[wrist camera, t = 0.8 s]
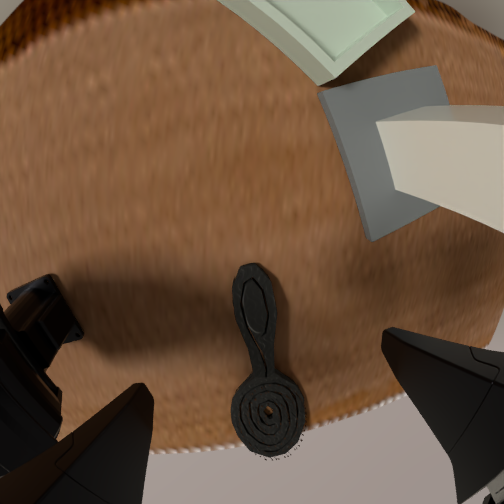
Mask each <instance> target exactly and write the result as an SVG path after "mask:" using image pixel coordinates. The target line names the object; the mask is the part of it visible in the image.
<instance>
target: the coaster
mask: <svg viewBox="0 0 504 504" xmlns="http://www.w3.org/2000/svg"><path fill="white" fill-rule="evenodd" d="M317 95H318V97H319V99H320V102H321V104H322V107H323V109H324V112H325V114H326V116H327V119H328V122H329V124H330V127H331V129H332V132H333V135H334V137H335V140H336V143H337V145H338V148H339V151H340V154H341V157H342V159H343V162H344V165H345V168H346V171H347V174H348V177H349V180H350V184H351V187H352V190H353V193H354V196H355V200H356V203H357V207H358V210H359V213H360V217H361V221H362V224H363V228H364V232H365V235H366V238H367V239H368V240H370V241H371V242H374V241H376V240H378V239H380V238H381V237H383V236H385V235H387V234H389V233H391V232H393V231H395V230H397V229H399V228H401V227H403V226H404V225H406V224H408V223H410V222H412V221H414V220H416V219H418V218H419V217H421V216H423V215H425V214H427V213H429V212H430V211H432V210H434V209H436V208H438V207H440V205H437V204H434V203H432V202H429V201H426V200H424V199H421V198H418V197H415V196H413V195H410V194H407V193H404V192H401V191H398V190H395V186H394V182H393V178H392V174H391V171H390V167H389V163H388V160H387V156H386V153H385V150H384V146H383V143H382V140H381V137H380V134H379V131H378V128H377V125H376V121H379V120H382V119H386V118H389V117H392V116H395V115H398V114H401V113H404V112H408V111H411V110H414V109H418V108H421V107H425V106H447V105H449V101H448V98H447V95H446V91H445V88H444V85H443V82H442V79H441V76H440V74H439V71H438V68H437V66H436V65H435V66H429V67H423V68H417V69H411V70H406V71H401V72H396V73H391V74H386V75H382V76H378V77H373V78H369V79H365V80H361V81H357V82H353V83H350V84H346V85H342V86H339V87H335V88H332V89H329V90H325V91H322V92H320V93H317Z"/></svg>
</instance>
